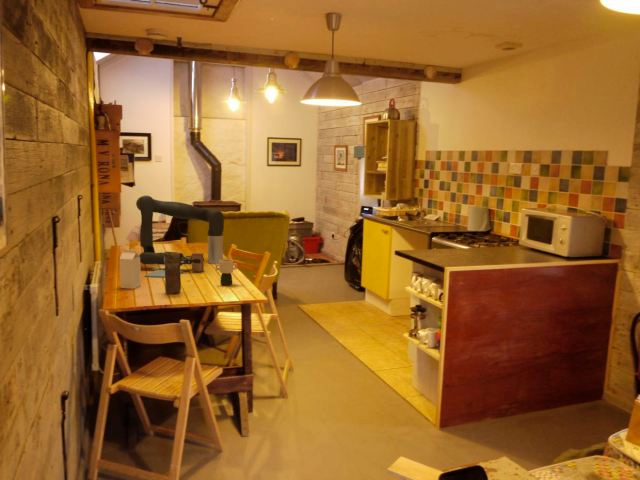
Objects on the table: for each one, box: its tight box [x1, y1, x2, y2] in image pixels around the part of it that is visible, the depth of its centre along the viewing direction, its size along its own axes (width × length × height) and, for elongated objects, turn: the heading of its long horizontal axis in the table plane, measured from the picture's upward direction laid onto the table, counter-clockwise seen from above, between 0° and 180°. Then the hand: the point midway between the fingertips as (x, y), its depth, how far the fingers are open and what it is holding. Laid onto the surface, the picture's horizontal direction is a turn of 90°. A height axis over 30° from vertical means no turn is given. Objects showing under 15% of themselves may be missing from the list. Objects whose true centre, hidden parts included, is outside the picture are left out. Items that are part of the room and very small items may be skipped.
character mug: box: [215, 258, 238, 286], centre depth 279 cm, size 11×7×13 cm, turn 107°
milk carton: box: [119, 249, 142, 290], centre depth 270 cm, size 7×7×19 cm
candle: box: [163, 251, 182, 295], centre depth 261 cm, size 8×7×20 cm
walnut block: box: [191, 251, 205, 273], centre depth 309 cm, size 5×5×10 cm
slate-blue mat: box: [144, 269, 185, 279], centre depth 301 cm, size 16×16×1 cm
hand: (202, 260), depth 309 cm, fingers closed on walnut block, 5 cm apart
